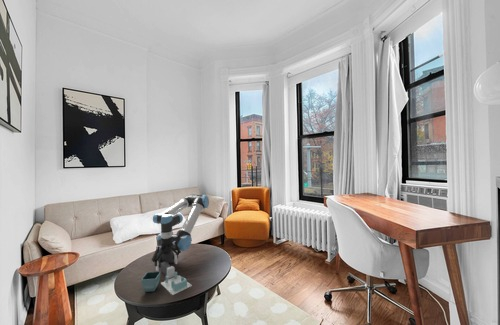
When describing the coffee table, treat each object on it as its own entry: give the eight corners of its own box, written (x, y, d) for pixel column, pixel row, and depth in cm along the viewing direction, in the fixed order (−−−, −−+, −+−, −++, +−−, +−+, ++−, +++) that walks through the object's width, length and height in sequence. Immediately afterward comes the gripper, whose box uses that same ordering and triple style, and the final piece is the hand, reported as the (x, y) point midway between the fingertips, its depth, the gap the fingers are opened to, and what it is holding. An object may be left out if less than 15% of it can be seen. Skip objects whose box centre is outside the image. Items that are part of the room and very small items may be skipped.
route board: (160, 283, 136) (160, 277, 136) (179, 275, 146) (179, 269, 146) (172, 295, 125) (172, 288, 125) (191, 285, 134) (191, 279, 134)
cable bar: (160, 271, 152) (160, 262, 152) (165, 269, 155) (165, 260, 155) (168, 278, 142) (168, 269, 142) (174, 276, 145) (174, 267, 145)
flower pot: (147, 285, 135) (146, 271, 135) (161, 284, 135) (160, 271, 135) (141, 294, 126) (140, 279, 126) (156, 293, 127) (155, 278, 127)
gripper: (150, 243, 137) (150, 275, 137) (185, 234, 155) (185, 262, 155) (146, 240, 142) (146, 271, 142) (180, 231, 160) (180, 259, 160)
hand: (166, 266), depth 148 cm, fingers open, 13 cm apart
